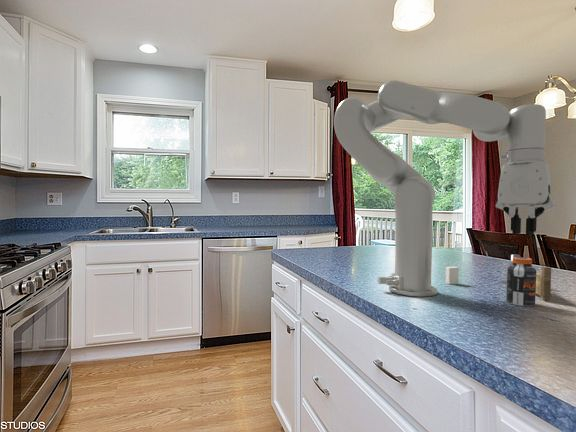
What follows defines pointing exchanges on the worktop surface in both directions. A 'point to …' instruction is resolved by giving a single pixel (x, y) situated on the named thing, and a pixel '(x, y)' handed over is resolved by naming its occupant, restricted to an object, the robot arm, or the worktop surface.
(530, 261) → the pill bottle
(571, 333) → the worktop surface
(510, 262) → the hinge post
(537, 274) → the gate
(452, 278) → the block
